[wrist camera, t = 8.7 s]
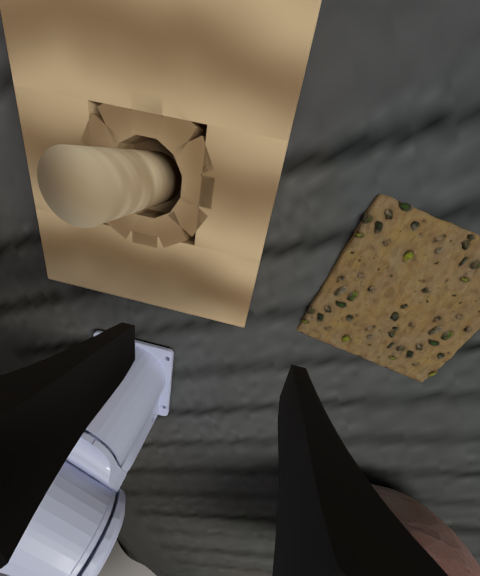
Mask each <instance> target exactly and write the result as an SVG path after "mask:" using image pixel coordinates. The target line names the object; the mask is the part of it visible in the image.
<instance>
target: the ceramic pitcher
mask: <svg viewBox="0 0 480 576" xmlns="http://www.w3.org/2000/svg"><path fill="white" fill-rule="evenodd" d="M371 485H372V486H373V487H374V489H375V490H376V491H377V493H378V494H379V495H380V497H381V498H382V499H383V501H384V502H385V503H386V505H387V506H388V507H389V508H390V510H391V511H392V512H393V513H394V514H395V516H396V517H397V518H398V519H399V520H400V522H401V523H402V524H403V525H404V526H405V528H406V529H407V530H408V531H409V532H410V534H411V535H412V536H413V537H414V538H415V539H416V540H417V541H418V543H419V544H420V545H421V546H422V547H423V548H424V549H425V550H426V551H427V552H428V554H429V555H430V556H431V557H432V558H433V559H434V560H435V561H436V562H437V563H438V565H439V566H440V567H441V568H442V569H443V570H444V571H445V572H446V573H447V574H448V576H480V566H479V564H478V563H477V562H476V560H475V559H474V557H473V556H472V555H471V553H470V552H469V550H468V549H467V548H466V546H465V545H464V544H463V542H462V541H461V540H460V539H459V538H458V536H457V535H456V534H455V533H454V532H453V531H452V530H451V529H450V528H449V527H448V526H447V525H446V524H445V523H444V522H443V521H442V520H441V519H440V518H439V517H437V516H436V515H435V514H434V513H433V512H431V511H430V510H429V509H428V508H426V507H425V506H424V505H422V504H420V503H419V502H418V501H416V500H414V499H413V498H412V497H409V496H407V495H405V494H404V493H400V492H398V491H397V490H394V489H390V488H387V487H382V486H378V485H374V484H371Z"/></svg>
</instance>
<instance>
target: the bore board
mask: <svg viewBox="0 0 480 576" xmlns="http://www.w3.org/2000/svg"><path fill="white" fill-rule="evenodd" d="M321 1H322V0H0V10H1V16H2V21H3V27H4V33H5V38H6V44H7V50H8V55H9V61H10V66H11V72H12V78H13V83H14V89H15V95H16V100H17V106H18V111H19V117H20V123H21V128H22V134H23V140H24V145H25V151H26V157H27V162H28V168H29V173H30V179H31V185H32V190H33V196H34V202H35V207H36V213H37V218H38V224H39V230H40V235H41V241H42V247H43V252H44V258H45V264H46V269H47V275H48V279H52V280H56V281H60V282H64V283H68V284H72V285H76V286H80V287H84V288H88V289H92V290H96V291H100V292H104V293H108V294H112V295H116V296H120V297H124V298H128V299H132V300H136V301H140V302H144V303H148V304H152V305H156V306H160V307H164V308H168V309H172V310H176V311H180V312H184V313H188V314H192V315H196V316H200V317H204V318H208V319H212V320H216V321H220V322H224V323H228V324H232V325H236V326H240V327H244V326H245V322H246V318H247V314H248V310H249V306H250V302H251V298H252V293H253V289H254V285H255V281H256V277H257V272H258V268H259V264H260V260H261V256H262V251H263V247H264V243H265V239H266V234H267V230H268V226H269V222H270V218H271V213H272V209H273V205H274V201H275V197H276V192H277V188H278V184H279V180H280V175H281V171H282V167H283V163H284V159H285V154H286V150H287V146H288V142H289V137H290V133H291V129H292V125H293V121H294V116H295V112H296V108H297V104H298V100H299V95H300V91H301V87H302V83H303V78H304V74H305V70H306V66H307V62H308V57H309V53H310V49H311V45H312V40H313V36H314V32H315V28H316V23H317V19H318V14H319V10H320V5H321ZM59 144H66V145H80V146H94V147H108V148H121V149H135V150H149V151H160V152H163V153H166V154H167V155H169V156H170V157H171V158H172V159H173V160H174V161H175V162H176V164H177V165H178V167H179V170H180V172H181V178H182V183H181V188H180V191H179V193H178V194H177V196H176V197H175V198H173V199H172V200H170V201H167V202H164V203H162V204H159V205H156V206H153V207H150V208H147V209H144V210H141V211H138V212H135V213H132V214H130V215H127V216H124V217H121V218H118V219H115V220H112V221H109V222H106V223H103V224H101V225H98V226H95V227H91V228H79V227H75V226H73V225H70V224H68V223H66V222H65V221H63V220H62V219H60V218H59V217H58V216H57V215H56V214H55V213H54V212H53V211H52V210H51V209H50V207H49V206H48V205H47V203H46V201H45V200H44V198H43V196H42V194H41V191H40V188H39V185H38V179H37V167H38V162H39V160H40V157H41V156H42V154H43V153H44V152H45V151H46V150H47V149H48V148H50V147H52V146H54V145H59Z"/></svg>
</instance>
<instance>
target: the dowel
mask: <svg viewBox="0 0 480 576" xmlns="http://www.w3.org/2000/svg"><path fill="white" fill-rule="evenodd" d="M37 179H38V185H39V188H40V191H41V194H42V196H43V198H44V200H45V201H46V203H47V205H48V206H49V207H50V209H51V210H52V211H53V212H54V213H55V214H56V215H57V216H58V217H59V218H60V219H62V220H63V221H65V222H66V223H68V224H70V225H73V226H75V227H79V228H91V227H95V226H98V225H101V224H103V223H106V222H109V221H112V220H115V219H118V218H121V217H124V216H127V215H130V214H132V213H135V212H138V211H141V210H144V209H147V208H150V207H153V206H156V205H159V204H162V203H164V202H167V201H170V200H172V199H173V198H175V197H176V196H177V194H178V193H179V191H180V188H181V183H182V178H181V172H180V170H179V167H178V165H177V164H176V162H175V161H174V160H173V159H172V158H171V157H170V156H169V155H167V154H166V153H163V152H160V151H149V150H135V149H121V148H108V147H94V146H80V145H66V144H59V145H54V146H52V147H50V148H48V149H47V150H46V151H45V152H44V153H43V154H42V156H41V157H40V160H39V162H38V167H37Z"/></svg>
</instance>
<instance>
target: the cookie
mask: <svg viewBox="0 0 480 576" xmlns="http://www.w3.org/2000/svg"><path fill="white" fill-rule="evenodd" d="M320 288H321V289H320V291H319V292H318V294H317V295H316V296H315V298H314V300H313V301H312V302H311V303H310V305H309V308H308V310H307V311H306V313H305V315H304V316H303V319H302V321H301V322H300V324H299V326H298V327H297V331H300V332H301V333H304V334H306V335H309V336H311V337H313V338H315V339H318V340H320V341H323V342H325V343H328V344H330V345H332V346H334V347H336V348H340V349H343V350H345V351H348V352H350V353H352V354H354V355H358V356H360V357H362V358H364V359H366V360H369V361H372V362H374V363H376V364H378V365H381V366H384V367H386V368H389V369H391V370H394V371H396V372H398V373H401V374H403V375H405V376H408V377H410V378H413V379H415V380H417V381H419V382H423V381H424V380H425V379H426V378H429V377H430V376H433V375H434V374H436V373H437V369H439V368H440V367H441V366H442V365H443V364H444V363H445V362H446V361H447V360H449V359H451V358H452V356H453V355H454V354H455V352H456V351H457V350H458V349H459V348H460V347H461V346H462V345H463V344H464V343H465V342H466V341H468V340H469V339H470V338H471V336H472V335H473V334H474V333H475V332H476V331H477V330H478V329H480V236H478V235H477V234H476V233H474V232H470V231H469V230H465V229H462V228H460V227H458V226H456V225H454V224H452V223H450V222H447V221H443V220H440V219H438V218H435V217H433V216H431V215H429V214H427V213H426V212H424V211H421V210H418V209H415V208H413V207H411V206H410V204H407V203H402V202H400V201H397V200H395V199H394V198H392V197H390V196H387V195H383V194H379V195H377V196H376V198H375V199H374V200H373V202H372V203H371V205H370V206H369V208H368V209H367V210H366V212H365V213H364V216H363V219H362V220H361V222H360V223H359V225H358V227H357V228H356V230H355V231H354V234H353V236H352V237H351V239H350V240H349V242H348V243H347V244H346V246H345V248H344V249H343V250H342V252H341V254H340V256H339V258H338V260H337V262H336V264H335V265H334V267H333V269H332V270H331V272H330V273H329V276H328V278H327V279H326V281H325V282H324V284H323V285H322V286H321V287H320Z"/></svg>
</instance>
